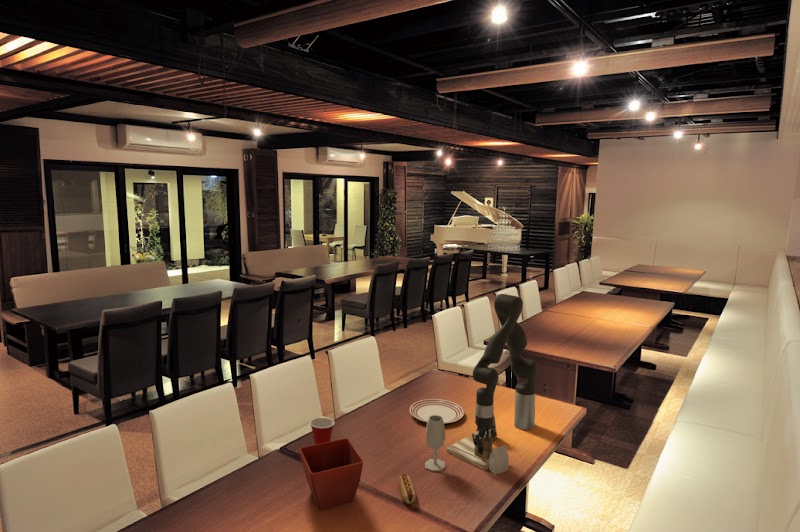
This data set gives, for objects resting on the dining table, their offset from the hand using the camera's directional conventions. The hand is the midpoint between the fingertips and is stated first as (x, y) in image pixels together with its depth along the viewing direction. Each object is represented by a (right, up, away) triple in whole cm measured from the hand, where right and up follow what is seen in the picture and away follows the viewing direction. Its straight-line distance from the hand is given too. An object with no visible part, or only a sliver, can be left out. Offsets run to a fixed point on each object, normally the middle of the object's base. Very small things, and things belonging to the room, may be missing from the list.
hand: (483, 451), depth 206 cm
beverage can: (+6, -1, +20) cm, 21 cm away
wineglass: (-21, -5, -4) cm, 21 cm away
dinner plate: (-16, +2, +43) cm, 46 cm away
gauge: (0, -2, 0) cm, 2 cm away
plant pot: (-60, -8, -25) cm, 66 cm away
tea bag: (+5, -5, -7) cm, 10 cm away
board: (-3, -3, +5) cm, 6 cm away
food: (-32, -7, -23) cm, 40 cm away
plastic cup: (-69, -2, +11) cm, 70 cm away
